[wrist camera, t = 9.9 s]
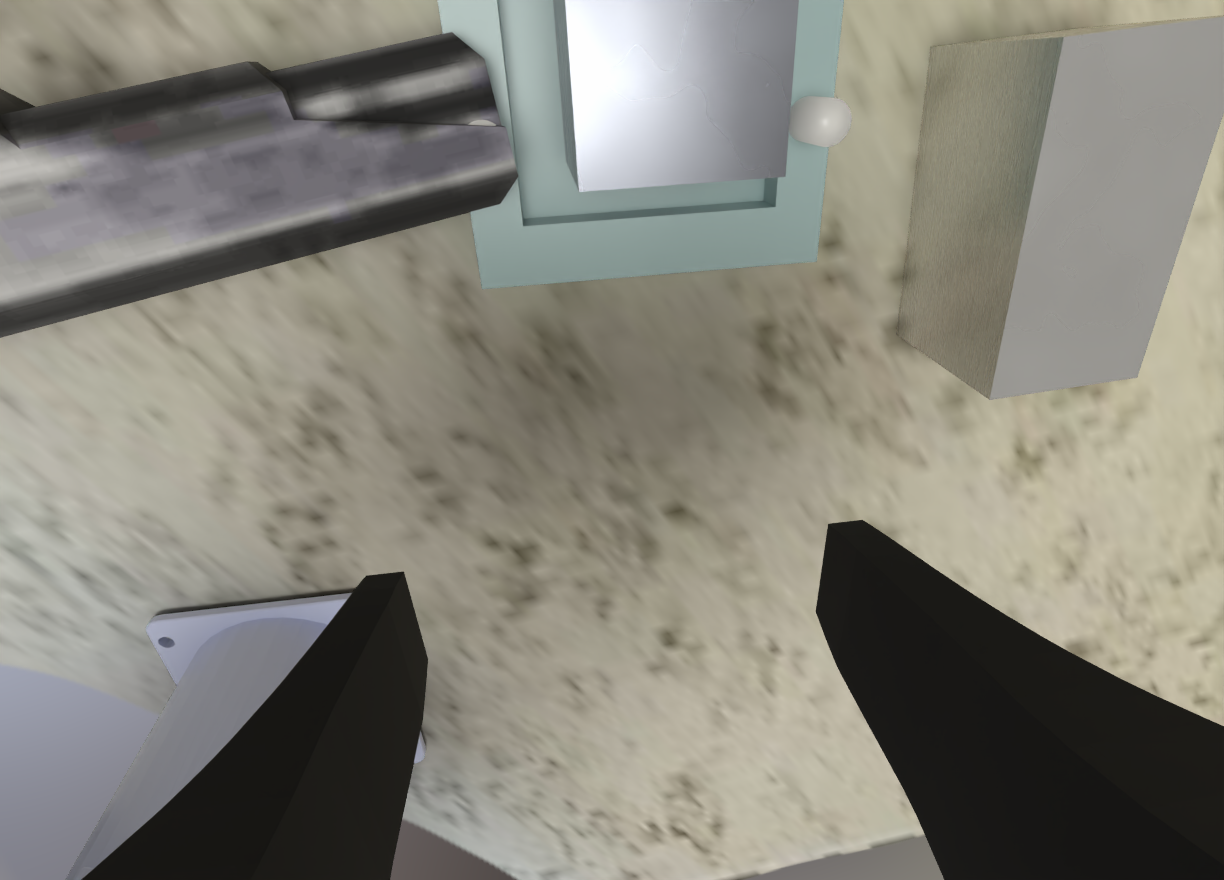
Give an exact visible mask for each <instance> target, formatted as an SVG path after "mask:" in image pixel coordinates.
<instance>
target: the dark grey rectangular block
mask: <svg viewBox="0 0 1224 880" xmlns="http://www.w3.org/2000/svg"><path fill="white" fill-rule="evenodd" d="M798 6H799V0H553V7H554V19H555V32H556V44H557V57H558V69H559V81H560V94H561V106H562V119H563V131H564V143H565V156H566V163H567V165H568V167H569V170H570V172H571V174H572V177H573V179H574V181H575V184H576V186H577V189H578V191H579V192H586V191H599V190H613V189H627V188H641V187H654V186H668V185H682V184H695V183H709V182H723V181H737V180H750V179H764V178H778V177H786V164H787V151H788V138H789V124H790V111H791V98H792V85H793V72H794V59H795V45H796V32H797V19H798Z"/></svg>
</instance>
